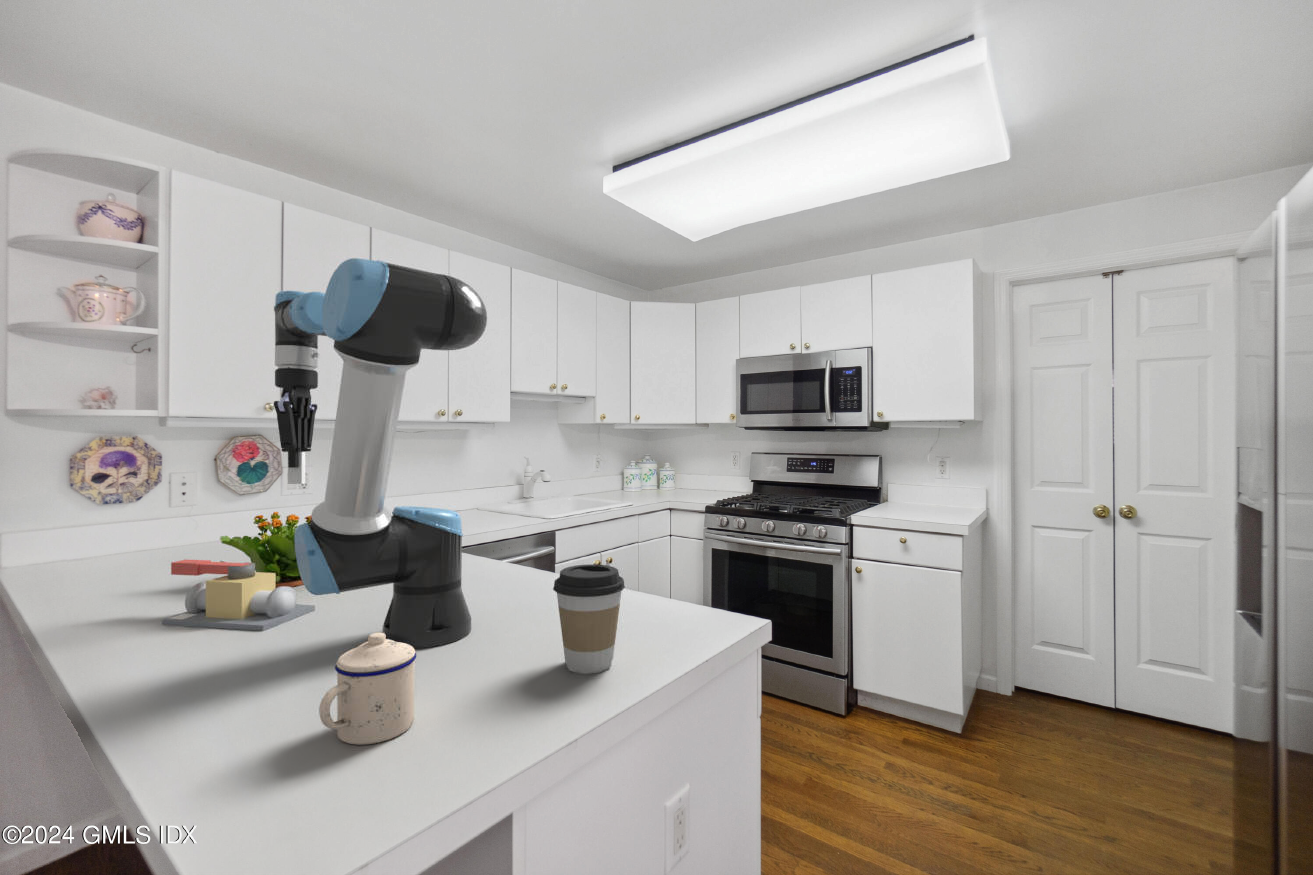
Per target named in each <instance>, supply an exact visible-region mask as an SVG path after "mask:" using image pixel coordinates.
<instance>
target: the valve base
mask: <svg viewBox="0 0 1313 875" xmlns="http://www.w3.org/2000/svg"><path fill="white" fill-rule="evenodd" d="M275 574H276V573H262V572H256V571H255V576H254V577H251V578H247V579H239V580H230V579H228V575H227V574H226V575H224V576H220V577H216V578H213V579H208V580H205V582H199V583H196V584H195V585H194V586H192V587H191V588H190V589H189V591H188V592H187V594H186V596H185V600H184V606H185V607H184V608H185V610H186V611H184V612H182V613H181V612H180V613H178V614H175V615H172V616H169V617H165V618H162V620H161V622H162V626H163V625H165V626H166V625H167V626H182V627H195V628H196V627H197V628H210V629H211V628H214V629H227V630H228V629H231V630H243V631H245V630H246V631H256V632H257V631H261V632H263V631H266V630H269V629H272V628H273V627H274V628H275V627H276V626H279V625H281V624H283V623H286V622H288V621H289V622H290V621H291V620H294V619H297V618H299V617H301V616H304V615H306V614H309V613H311V612H313V611H315V610H316V605H313V604H297V600H298V598H297V593H296V591H295V589H294V587H286V586H280V587H277V588H275Z"/></svg>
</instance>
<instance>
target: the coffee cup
mask: <svg viewBox="0 0 1313 875" xmlns="http://www.w3.org/2000/svg"><path fill="white" fill-rule="evenodd" d="M553 582H554V584H553V585H554V586H553V588H552V590H553V591H554V592H555V593H556V597H557V605H558V613H559V614H558V615H559V622H560V628H561V636H562V637H561V638H562V646H563V653H564V654H563V655H564V662H565V663H566V667H567V669H568V670H569V671H570V672H572V673H576V674H583V675H593V674H598V673H602V672H604V671H607V670H609V669H610V668H611V667H612V662H613V660H614V653H615V646H616V639H617V638H616V636H617V630H618V622H619V612H620V605H621V598H622V591H623V590H624V589H625V588H626V587H625V580H624V578H623V577H622V576H621V575H620V574H619V569H618V568H617V567H614V566H610V565H607V564H606V565H605V564H590V563H589V564H578V565H571V566H568V567H565V568H563V569H561V570H560V571H559V577H557V578H556V579H555V580H554V581H553Z"/></svg>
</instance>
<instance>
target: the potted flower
mask: <svg viewBox="0 0 1313 875" xmlns="http://www.w3.org/2000/svg"><path fill="white" fill-rule="evenodd" d="M311 515H312V514H311ZM311 515H309V516H305V517H304V520H305V523H309V524H310V522H311ZM280 518H281V515H280V512H278V511H273V512H272V514H270V521H268V519H269V518H268V517H267V518H266V517H265V518H264V515H263V514H260V515H259V514H258V515H255V516H254V518H253V520H254V521H253V524H254V525H257V526H256V528H258V530H259V531H260V532H258V533H257V535H258V536H254V537H253V538H252V536H248V535H243V536H242V537H241V536H234V537H232V538H231V537H230V536H228V535H221V536H220V537H219V539H220V540H219V541H221V542H220V543H221V544H224V545H228V546H231V547H233V548H235V549H237V550H239V551H241V552H243V553H244V554H245V555H246V556H247V557H248V558H249V559H250V563H255V572H262V573H276V574H275V588H277V587H280V586H286V587H291V588H295V587H298V586H299V587H301V586H302V585H303V586H304V584H303V582H302V579H301V576H300V573H299V569H298V564H297V559H296V552H295V530H296V528H297V526H298V523H299V520H300V517H299V515H296V514H289V515H286V519H285V523H283V522H282V520H281V519H280ZM268 531H269V533H270V534H271V535H269V534H267V533H268ZM259 536H260V537H259ZM219 562H224V561H222V560H219Z"/></svg>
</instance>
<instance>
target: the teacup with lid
mask: <svg viewBox="0 0 1313 875" xmlns="http://www.w3.org/2000/svg"><path fill="white" fill-rule="evenodd" d="M416 658H417V652H416V650H415V648H413V647H412V646H410V645H408V644H406V643H400V642H395V641H393V640H389V639H386V635H385V634H384V633H382V632H373V633H371V634H369V635H368V637H367V641H365V642H363V643H361V644H360V645H359V646H357V647H354V648H352V649H350V650H347V651H346V652H344V653H343V654H342V655H340V656H339V657H338V659H337V661H336V663H335V665H334V670H335V671H336V674H337V675H336V680H337V685H334V686H333V687H331V688H330V689H329V690H327V692H326V693H325V694H324V696H323V697H322V699H321V700H320V702H319V703H320V704H319V707H318V709H319V710H318V714H319V719H320V720H321V723H322V724H323V725H324V727H326V728H327V729H331V730H337V731H336V732H337V737H338V739H340V741H342V742H344V743H346V744H350V745H356V746H364V745H365V746H366V745H373V744H379V743H382V742H386V741H389V740H392V739H394V738H397V737H399V736H401V735H402V734H404V733H405V732H406V731H408V730H409V729H410V728H411V726H412V725H413V723H414V721H415V660H416ZM336 697H337V700H336V701H337V704H336V706H337V707H336V708H337V709H336V711H337V716H336V720H337V721H334V719H332V716H331V705H332V702H333V700H334V699H335V698H336Z"/></svg>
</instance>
